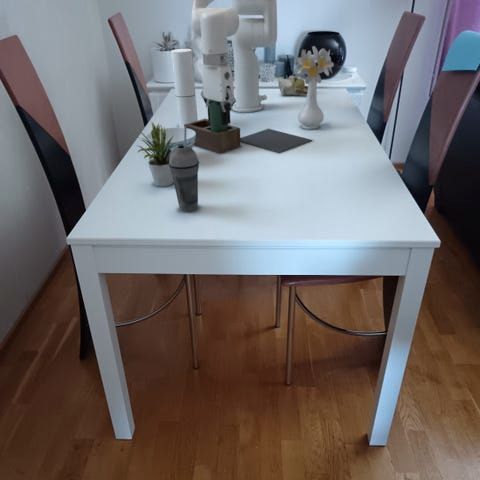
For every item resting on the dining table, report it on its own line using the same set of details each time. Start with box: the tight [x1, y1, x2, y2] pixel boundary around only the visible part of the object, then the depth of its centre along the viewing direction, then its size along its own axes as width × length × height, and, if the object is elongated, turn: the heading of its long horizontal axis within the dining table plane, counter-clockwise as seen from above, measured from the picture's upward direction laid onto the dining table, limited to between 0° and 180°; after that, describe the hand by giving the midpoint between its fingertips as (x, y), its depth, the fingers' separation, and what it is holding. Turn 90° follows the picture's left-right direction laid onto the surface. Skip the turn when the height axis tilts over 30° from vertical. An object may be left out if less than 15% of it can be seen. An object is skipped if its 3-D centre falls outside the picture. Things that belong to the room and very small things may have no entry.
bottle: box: [209, 100, 229, 133], centre depth 157 cm, size 6×6×18 cm
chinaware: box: [145, 127, 196, 156], centre depth 151 cm, size 15×15×8 cm
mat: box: [240, 128, 313, 154], centre depth 165 cm, size 16×20×1 cm
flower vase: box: [294, 45, 335, 130], centre depth 169 cm, size 13×18×25 cm
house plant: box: [130, 121, 180, 188], centre depth 134 cm, size 14×14×16 cm
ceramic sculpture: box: [277, 73, 308, 96], centre depth 214 cm, size 11×9×15 cm
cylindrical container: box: [170, 48, 199, 128], centre depth 176 cm, size 7×7×25 cm
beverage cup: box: [169, 126, 200, 213], centre depth 118 cm, size 7×7×20 cm
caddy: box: [184, 118, 242, 154], centre depth 163 cm, size 9×17×6 cm, turn 44°
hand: (219, 121), depth 157 cm, fingers closed on bottle, 5 cm apart
